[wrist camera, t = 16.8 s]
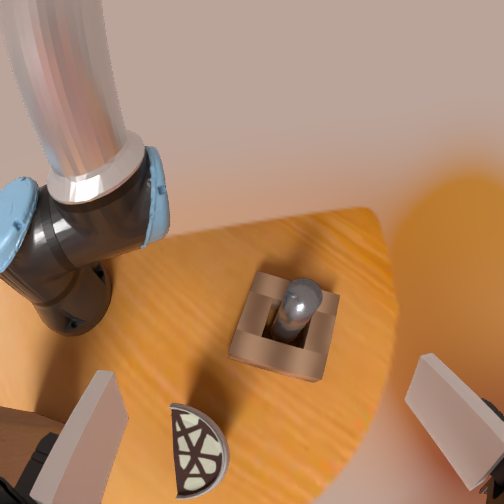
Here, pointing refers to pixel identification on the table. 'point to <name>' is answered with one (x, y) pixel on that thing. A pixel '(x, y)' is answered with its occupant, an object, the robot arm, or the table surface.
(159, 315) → the table surface
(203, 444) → the food container
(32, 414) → the wooden block
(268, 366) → the square block with hole
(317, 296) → the peg
